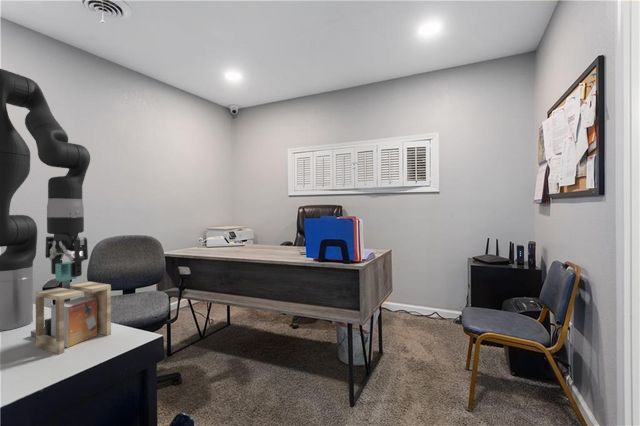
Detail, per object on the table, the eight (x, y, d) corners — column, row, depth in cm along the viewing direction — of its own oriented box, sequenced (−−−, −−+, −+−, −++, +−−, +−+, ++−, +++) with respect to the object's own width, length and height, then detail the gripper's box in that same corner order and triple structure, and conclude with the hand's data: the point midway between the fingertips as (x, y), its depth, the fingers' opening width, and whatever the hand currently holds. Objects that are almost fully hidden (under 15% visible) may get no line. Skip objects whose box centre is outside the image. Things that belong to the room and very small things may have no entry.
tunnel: (35, 346, 73) (35, 292, 73) (88, 328, 85) (88, 281, 84) (59, 354, 70) (59, 296, 70) (110, 334, 81) (110, 284, 81)
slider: (42, 342, 75) (42, 265, 75) (82, 328, 83) (81, 260, 83) (48, 343, 74) (48, 266, 74) (87, 330, 82) (87, 260, 82)
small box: (67, 348, 73) (67, 307, 73) (50, 346, 74) (50, 305, 74) (98, 335, 81) (98, 297, 80) (81, 333, 82) (81, 296, 82)
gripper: (33, 215, 77) (33, 275, 78) (65, 216, 72) (66, 280, 72) (66, 215, 84) (66, 270, 85) (97, 215, 79) (98, 274, 79)
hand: (66, 275), depth 78 cm, fingers open, 8 cm apart
